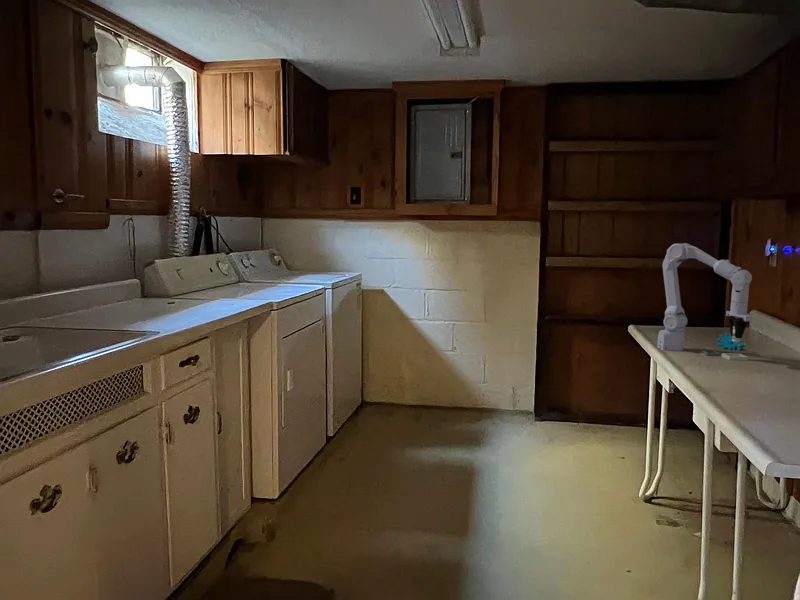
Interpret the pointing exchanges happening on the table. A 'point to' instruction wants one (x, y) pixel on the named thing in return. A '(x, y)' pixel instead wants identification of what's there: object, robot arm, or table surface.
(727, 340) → the gear
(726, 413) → the table surface
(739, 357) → the parts tray
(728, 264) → the robot arm
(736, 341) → the cylinder
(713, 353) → the grey square holder
